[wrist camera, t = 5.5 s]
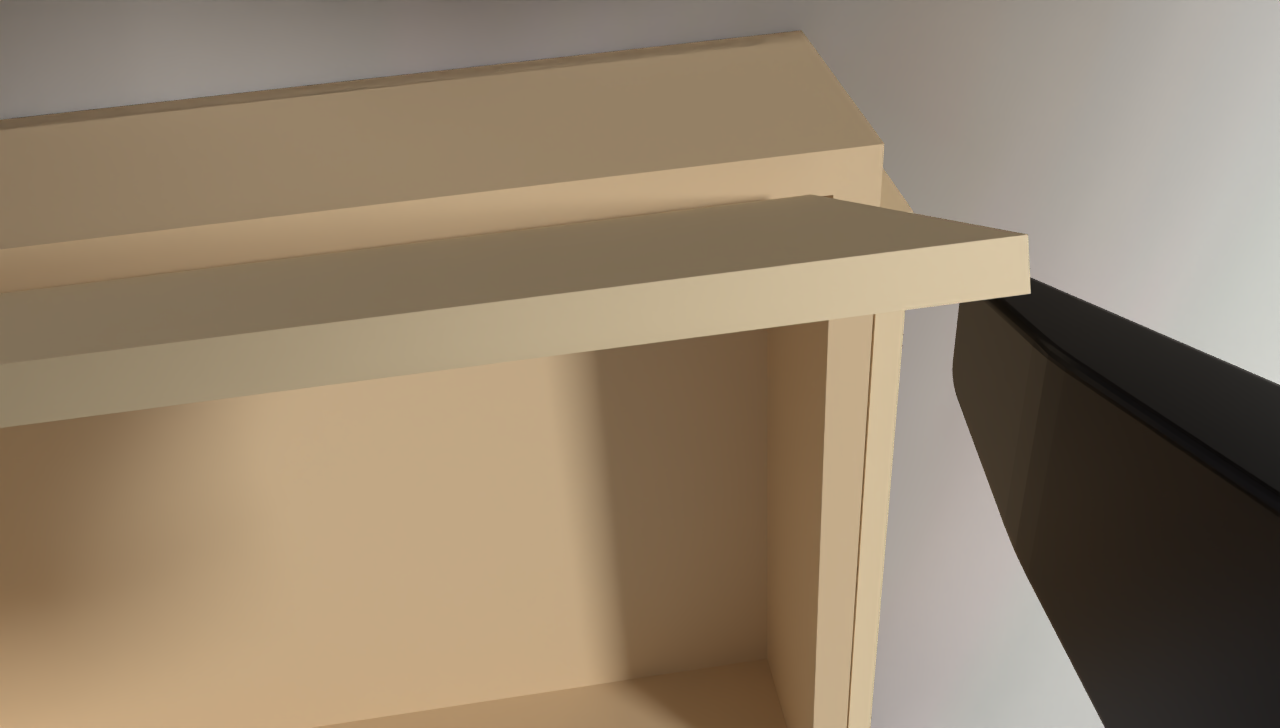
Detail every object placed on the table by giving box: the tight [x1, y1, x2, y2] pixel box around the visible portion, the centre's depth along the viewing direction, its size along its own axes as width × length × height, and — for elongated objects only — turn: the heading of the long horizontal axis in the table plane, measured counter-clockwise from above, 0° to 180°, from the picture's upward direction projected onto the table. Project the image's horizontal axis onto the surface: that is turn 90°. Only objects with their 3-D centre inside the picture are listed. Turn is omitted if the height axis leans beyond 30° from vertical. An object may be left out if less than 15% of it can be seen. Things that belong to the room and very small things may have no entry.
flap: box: [0, 194, 1031, 428], centre depth 10 cm, size 10×6×1 cm
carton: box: [0, 31, 913, 728], centre depth 19 cm, size 18×14×4 cm
